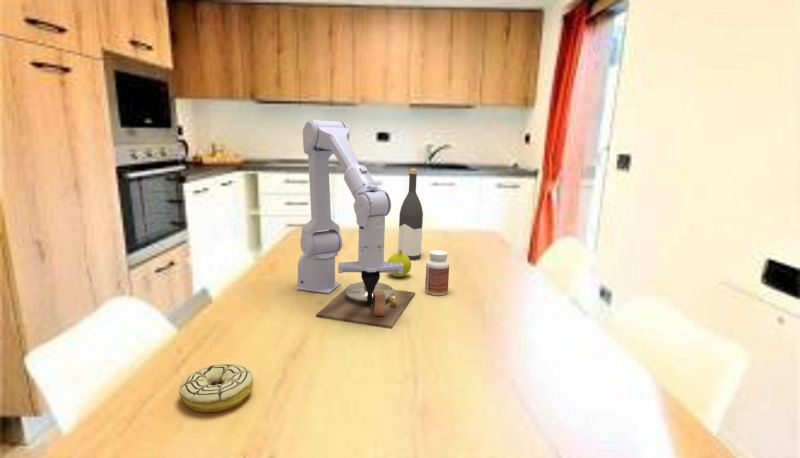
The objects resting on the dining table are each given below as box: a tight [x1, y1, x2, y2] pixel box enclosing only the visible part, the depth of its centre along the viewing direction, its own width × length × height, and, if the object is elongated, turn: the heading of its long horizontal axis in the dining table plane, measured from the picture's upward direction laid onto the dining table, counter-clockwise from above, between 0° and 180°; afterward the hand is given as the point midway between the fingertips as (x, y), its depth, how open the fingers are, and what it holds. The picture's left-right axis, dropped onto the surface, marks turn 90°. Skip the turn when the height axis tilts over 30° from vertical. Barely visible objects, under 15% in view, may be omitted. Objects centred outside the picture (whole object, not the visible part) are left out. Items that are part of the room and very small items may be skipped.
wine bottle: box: [397, 168, 424, 261], centre depth 150 cm, size 8×8×30 cm
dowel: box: [390, 295, 397, 308], centre depth 108 cm, size 2×2×3 cm
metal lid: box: [344, 281, 394, 316], centre depth 110 cm, size 18×12×5 cm, turn 15°
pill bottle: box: [424, 249, 450, 296], centre depth 120 cm, size 6×6×11 cm
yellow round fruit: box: [387, 248, 412, 278], centre depth 132 cm, size 7×7×10 cm
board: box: [315, 288, 416, 329], centre depth 110 cm, size 18×22×2 cm
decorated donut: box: [178, 363, 254, 414], centre depth 71 cm, size 10×11×4 cm
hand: (370, 302), depth 103 cm, fingers closed
